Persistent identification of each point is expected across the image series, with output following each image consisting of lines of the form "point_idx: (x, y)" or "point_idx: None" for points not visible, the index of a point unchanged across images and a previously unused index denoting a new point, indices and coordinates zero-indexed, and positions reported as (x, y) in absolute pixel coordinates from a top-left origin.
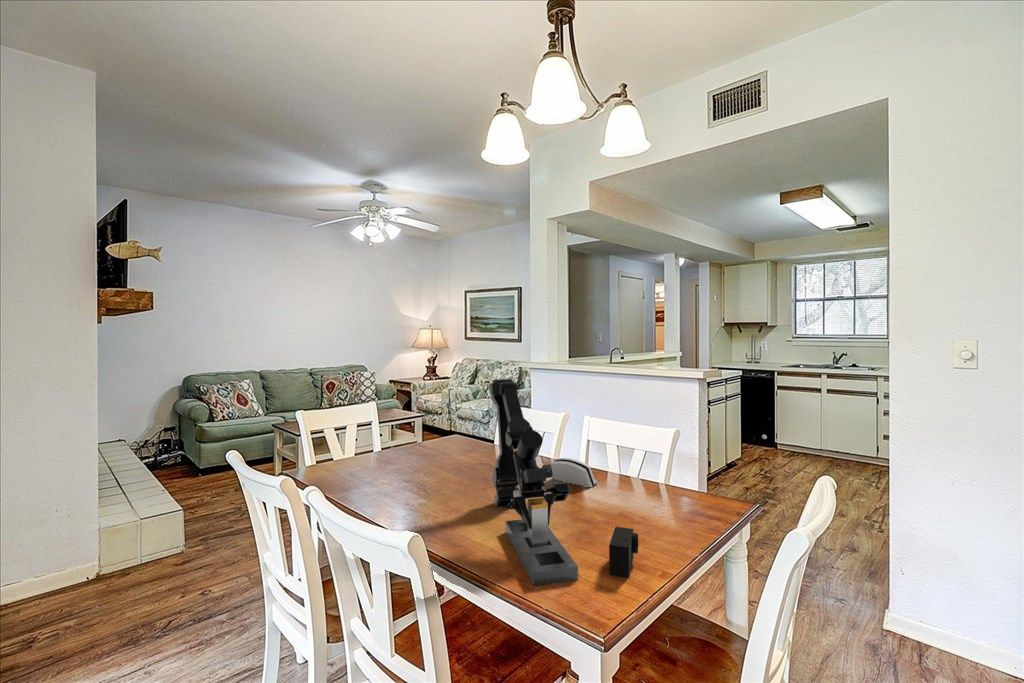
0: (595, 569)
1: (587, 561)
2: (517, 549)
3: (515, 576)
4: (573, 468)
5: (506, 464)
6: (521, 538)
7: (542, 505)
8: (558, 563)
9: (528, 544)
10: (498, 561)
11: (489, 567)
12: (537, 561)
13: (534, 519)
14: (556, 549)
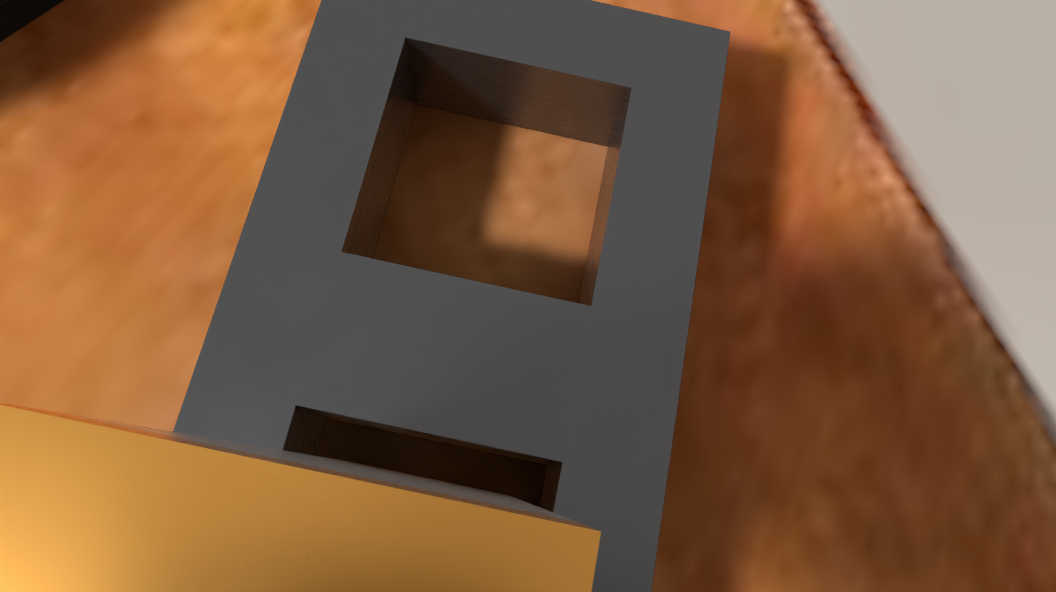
0: (137, 77)
1: (96, 208)
2: None
3: (771, 273)
4: None
5: None
6: None
7: (193, 447)
8: (370, 243)
9: None
10: (829, 584)
11: (934, 512)
12: (622, 167)
13: (489, 497)
14: (320, 288)
